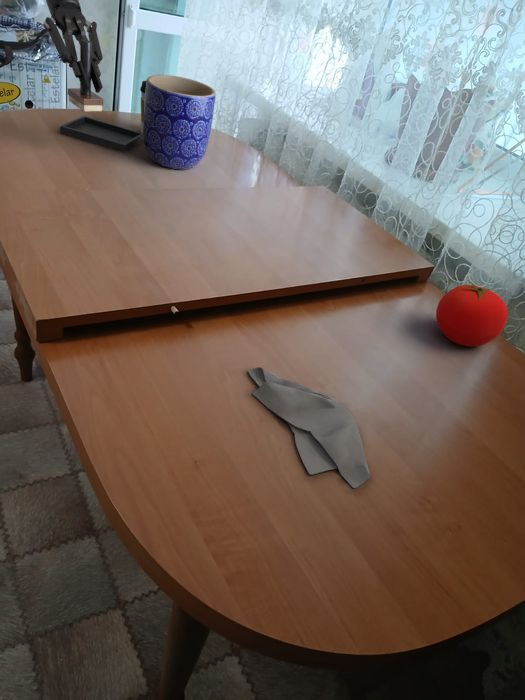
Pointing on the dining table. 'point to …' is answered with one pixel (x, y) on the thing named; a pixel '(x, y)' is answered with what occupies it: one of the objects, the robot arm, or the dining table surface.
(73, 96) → the brush
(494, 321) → the tomato
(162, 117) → the planter
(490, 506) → the dining table surface
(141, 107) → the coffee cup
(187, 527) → the dining table surface
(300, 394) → the cloth
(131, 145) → the tray
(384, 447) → the dining table surface
